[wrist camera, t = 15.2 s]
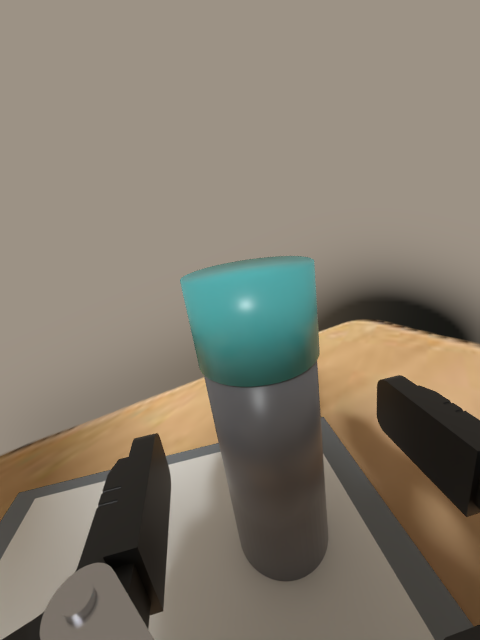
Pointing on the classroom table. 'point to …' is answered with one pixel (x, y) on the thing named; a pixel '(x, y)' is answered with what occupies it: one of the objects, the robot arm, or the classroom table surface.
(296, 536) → the marker
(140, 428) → the classroom table surface
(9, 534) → the mat
